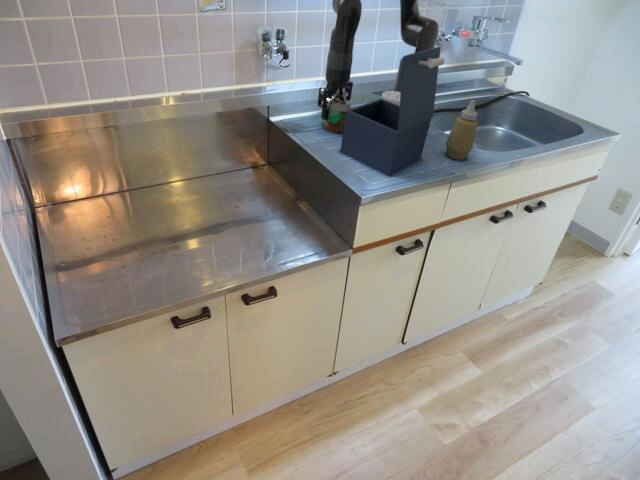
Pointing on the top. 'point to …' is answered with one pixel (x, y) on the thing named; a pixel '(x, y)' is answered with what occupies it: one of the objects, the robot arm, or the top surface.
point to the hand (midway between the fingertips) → (332, 116)
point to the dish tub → (382, 137)
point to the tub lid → (418, 87)
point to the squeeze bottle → (462, 133)
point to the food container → (336, 116)
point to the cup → (392, 97)
